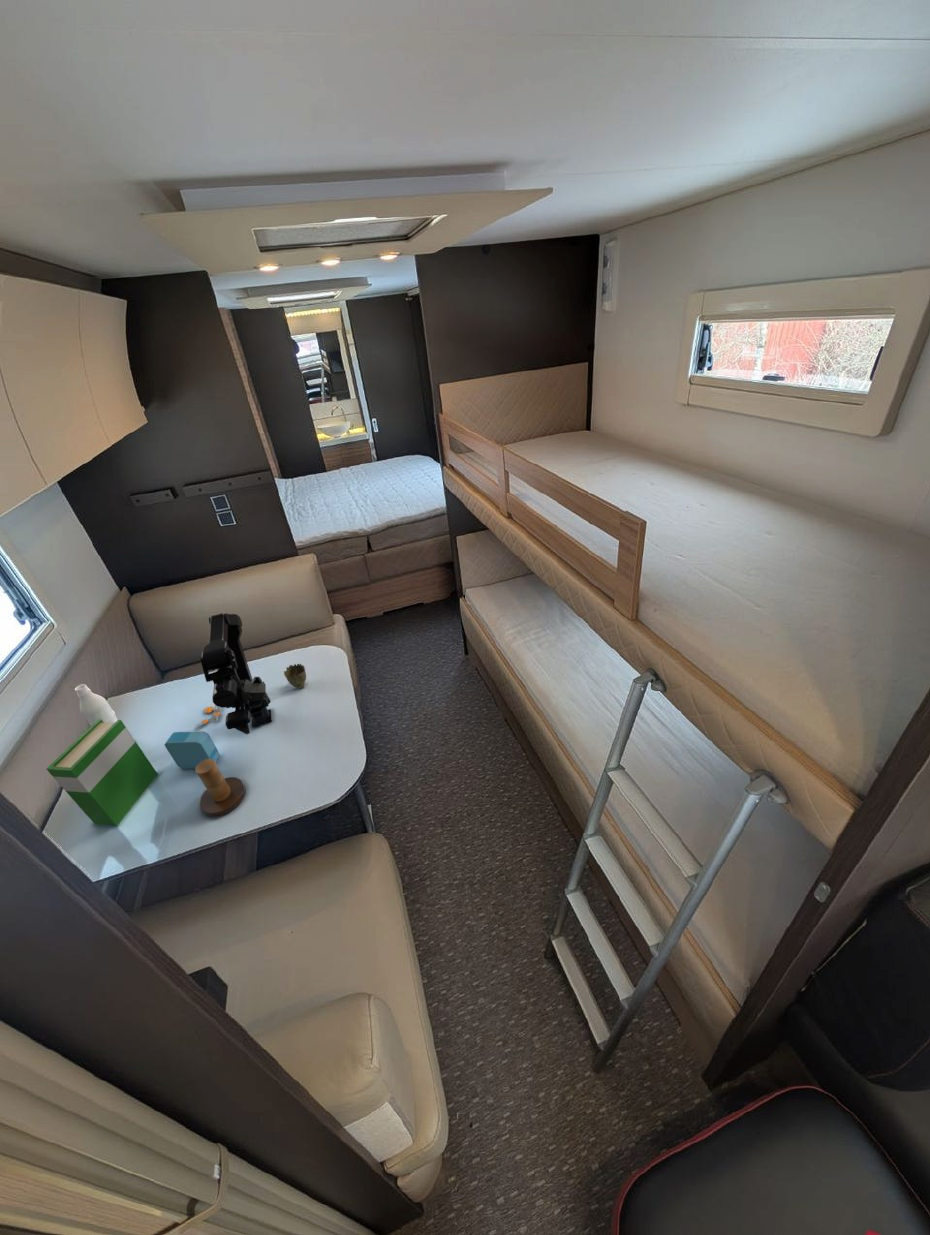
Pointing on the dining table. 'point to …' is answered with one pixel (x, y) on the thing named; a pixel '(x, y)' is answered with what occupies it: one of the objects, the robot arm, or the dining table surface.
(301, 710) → the dining table surface
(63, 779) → the hardback book
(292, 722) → the dining table surface
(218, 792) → the oak column
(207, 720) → the key chain
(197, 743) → the data package
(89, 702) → the water bottle
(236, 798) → the walnut disc
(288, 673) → the olive tapered rounded piece
